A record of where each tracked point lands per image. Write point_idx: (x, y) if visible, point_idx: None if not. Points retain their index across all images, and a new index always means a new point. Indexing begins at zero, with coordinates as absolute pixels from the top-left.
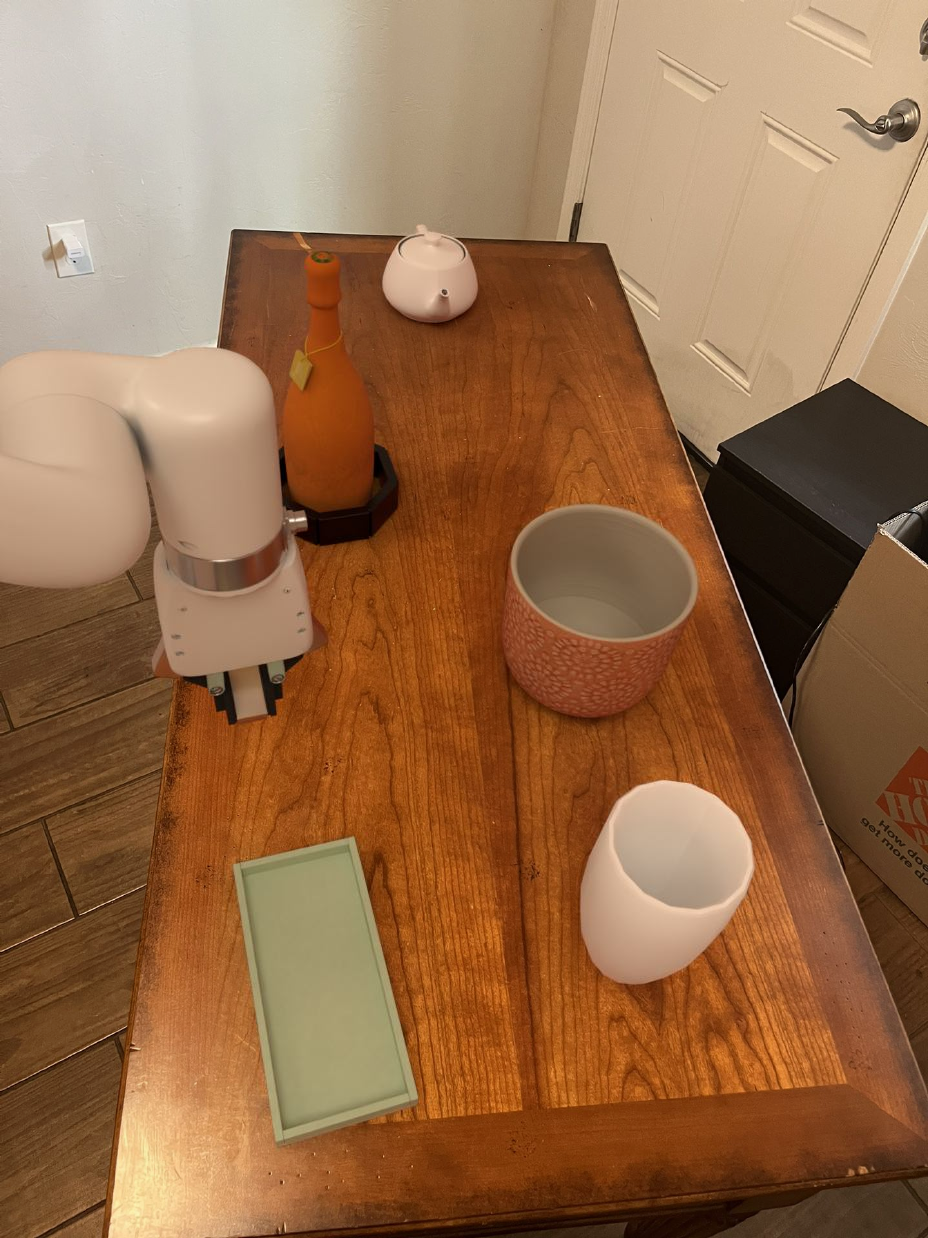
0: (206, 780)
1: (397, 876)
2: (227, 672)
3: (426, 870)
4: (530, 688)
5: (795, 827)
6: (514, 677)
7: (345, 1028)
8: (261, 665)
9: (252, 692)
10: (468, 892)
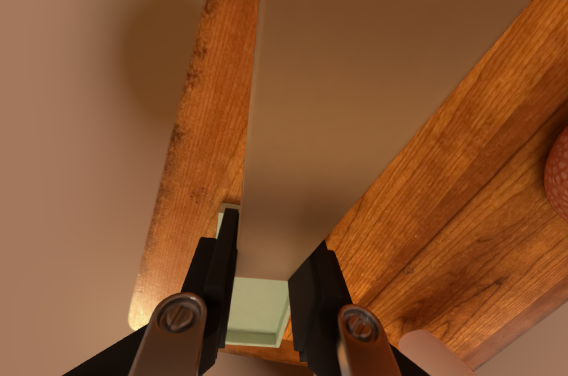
0: (218, 104)
1: (332, 244)
2: (227, 305)
3: (352, 247)
4: (562, 187)
5: (557, 299)
6: (560, 153)
7: (259, 305)
8: (316, 310)
9: (276, 268)
10: (366, 267)
